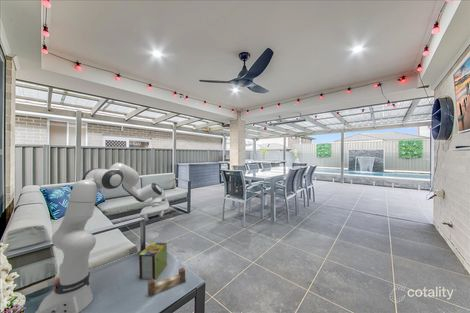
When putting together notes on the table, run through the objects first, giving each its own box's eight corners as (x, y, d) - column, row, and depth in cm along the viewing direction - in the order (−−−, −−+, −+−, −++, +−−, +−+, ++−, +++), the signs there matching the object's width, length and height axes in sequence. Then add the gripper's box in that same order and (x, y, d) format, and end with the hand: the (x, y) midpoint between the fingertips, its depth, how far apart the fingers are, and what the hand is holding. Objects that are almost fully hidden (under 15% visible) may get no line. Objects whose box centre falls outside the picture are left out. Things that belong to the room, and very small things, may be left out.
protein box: (167, 264, 124) (166, 242, 124) (155, 280, 109) (154, 255, 108) (152, 263, 125) (152, 241, 125) (138, 279, 110) (138, 254, 109)
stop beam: (148, 296, 97) (148, 284, 96) (147, 291, 100) (147, 279, 100) (185, 281, 108) (185, 270, 108) (183, 277, 111) (182, 266, 111)
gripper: (141, 204, 133) (136, 219, 121) (169, 198, 136) (167, 211, 124) (144, 211, 136) (139, 225, 124) (171, 204, 139) (169, 218, 127)
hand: (153, 218), depth 124 cm, fingers open, 8 cm apart
